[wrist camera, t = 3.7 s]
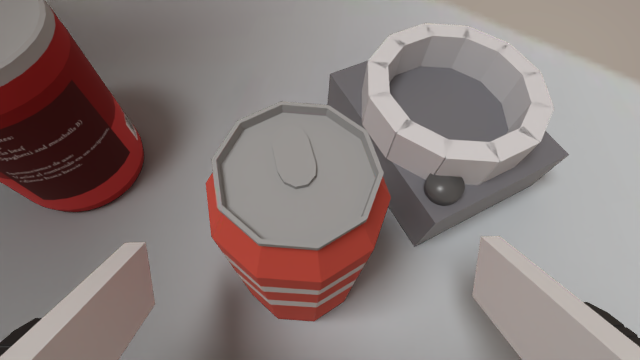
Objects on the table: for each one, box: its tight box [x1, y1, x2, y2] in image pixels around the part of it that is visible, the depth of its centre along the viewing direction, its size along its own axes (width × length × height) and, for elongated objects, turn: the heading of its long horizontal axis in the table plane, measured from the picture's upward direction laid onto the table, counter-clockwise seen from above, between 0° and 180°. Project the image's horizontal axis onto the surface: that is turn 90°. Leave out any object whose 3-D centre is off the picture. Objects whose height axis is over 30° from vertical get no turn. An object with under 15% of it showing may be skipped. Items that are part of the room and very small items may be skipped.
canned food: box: [0, 0, 144, 212], centre depth 19 cm, size 8×8×11 cm
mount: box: [328, 23, 569, 247], centre depth 23 cm, size 12×10×6 cm
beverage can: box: [206, 101, 391, 321], centre depth 16 cm, size 6×6×12 cm
